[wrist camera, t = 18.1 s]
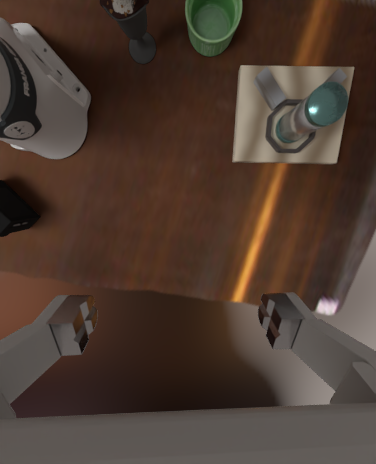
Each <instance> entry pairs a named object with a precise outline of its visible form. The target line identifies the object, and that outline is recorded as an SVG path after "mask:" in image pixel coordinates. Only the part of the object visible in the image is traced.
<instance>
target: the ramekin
mask: <svg viewBox="0 0 376 464" xmlns="http://www.w3.org/2000/svg"><path fill="white" fill-rule="evenodd" d="M185 15H186V20H187V24H188V34H189V38H190V41H191V43H192V46H193V47H194V48H195V50H196V51H197V52H199V53H200V54H202V55H204V56H209V57H210V56H216V55H218V54H220V53H222V52H223V51H224V50H225V49H226V48H227V47H228V45H229V43H230V42H231V40H232V37H233V34H234V32H235V30H236V28H237V27H238V24H239V22H240V19H241V15H242V0H186V4H185Z"/></svg>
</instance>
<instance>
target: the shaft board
mask: <svg viewBox="0 0 376 464" xmlns="http://www.w3.org/2000/svg"><path fill="white" fill-rule="evenodd" d="M353 72H354V67H315V66H244V65H241V66H240V69H239V73H238V88H237V102H236V117H235V132H234V146H233V161H232V162H243V163H297V164H334V163H337V159H338V153H339V148H340V142H341V137H342V132H343V126H344V121H345V115H346V111H345V113H344V114H343V116H342V117H341V118H340V119H339V120H338V121H336V122H334V123H332V124H330V125H328V126H326V127H322V128H320V129H318V130H316V131H314V132H312V133H310V134H308V135H306V136H304V137H302V138H300V139H299V140H297V141H295V142H292V143H283V142H281V141H280V140H279V139H278V138H277V136H276V131H275V130H276V124H277V122H278V120H279V119H280V118H281V117H282V116H283V115H284V114H286V113H288V112H289V111H290V110H292V109H293V108H294V107H295V106H296V105H298V104H299V103H300V102H301V101H303V100H304V99H305V98H306V97H308V96H309V95H310V94H311V93H312V92H313V91H314V90H315V89H316V88H318V87H319V86H320V85H322V84H323V83H326V82H337V83H340V84H341V85H342V86H343V87H344V88H345V89H346V91H347V94H348V99H349V94H350V88H351V83H352V78H353ZM346 110H347V109H346Z"/></svg>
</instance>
